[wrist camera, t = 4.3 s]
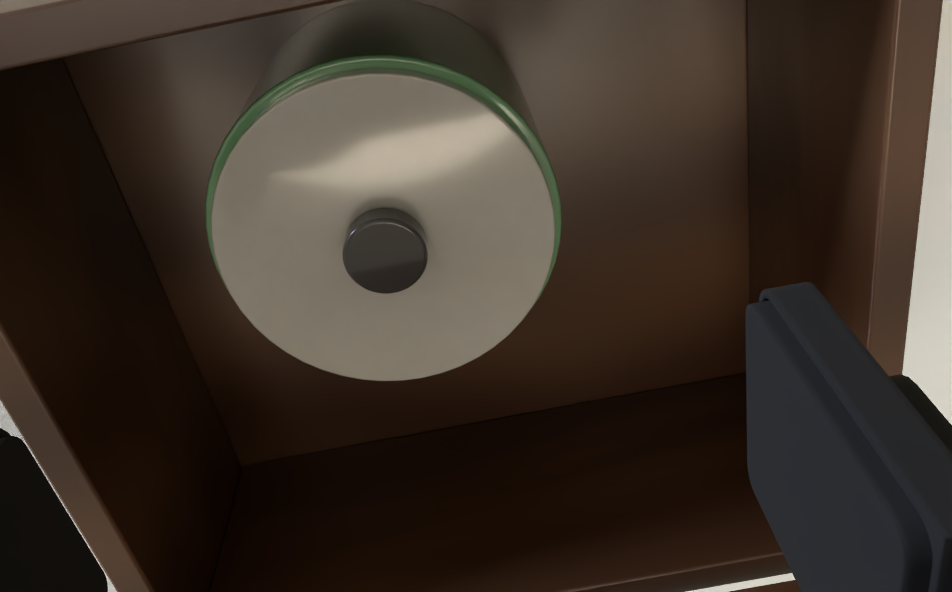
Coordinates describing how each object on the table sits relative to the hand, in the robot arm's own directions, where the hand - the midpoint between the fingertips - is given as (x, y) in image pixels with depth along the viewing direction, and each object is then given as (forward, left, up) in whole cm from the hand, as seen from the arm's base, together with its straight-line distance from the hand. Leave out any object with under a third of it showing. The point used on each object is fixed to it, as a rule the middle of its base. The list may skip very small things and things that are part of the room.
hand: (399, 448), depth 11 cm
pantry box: (+2, -1, -13) cm, 13 cm away
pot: (0, 0, -12) cm, 12 cm away
